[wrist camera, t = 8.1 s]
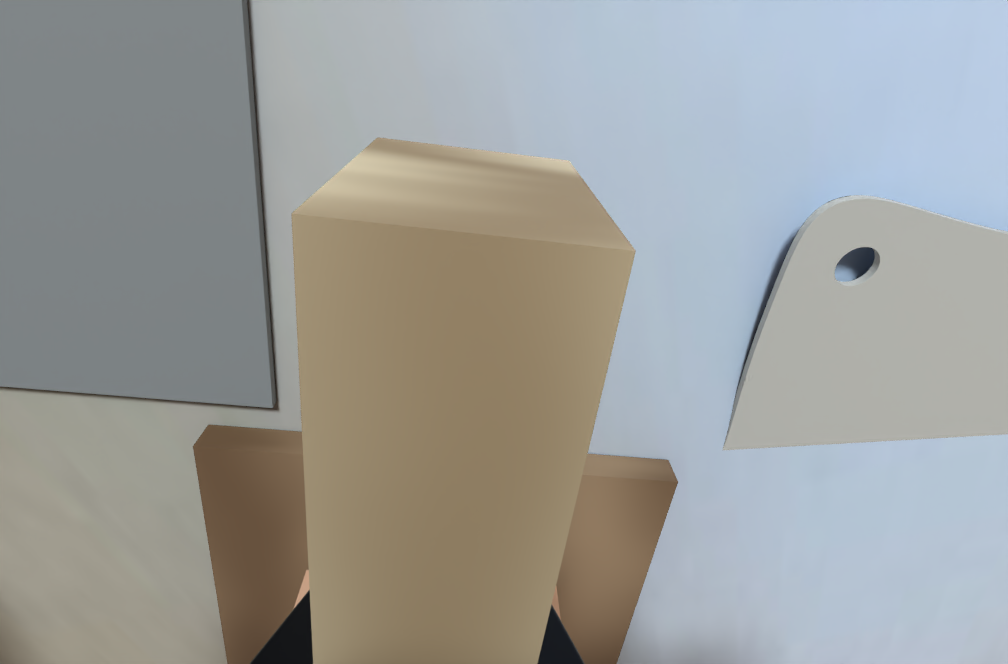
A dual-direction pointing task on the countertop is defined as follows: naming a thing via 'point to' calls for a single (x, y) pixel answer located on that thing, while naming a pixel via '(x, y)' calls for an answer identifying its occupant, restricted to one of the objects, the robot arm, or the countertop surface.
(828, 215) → the kitchen cleaver
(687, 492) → the countertop surface
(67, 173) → the mat
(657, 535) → the board
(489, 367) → the turner
